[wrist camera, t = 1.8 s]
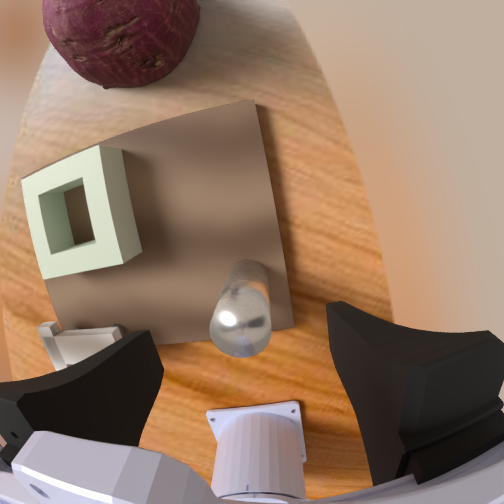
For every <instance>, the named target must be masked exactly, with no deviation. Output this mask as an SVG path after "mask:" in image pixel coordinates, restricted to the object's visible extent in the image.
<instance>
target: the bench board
mask: <svg viewBox="0 0 504 504" xmlns="http://www.w3.org/2000/svg"><path fill="white" fill-rule="evenodd" d="M97 145H104V146H109V147H114V148H120V149H122V156H123V162H124V168H125V173H126V179H127V184H128V189H129V194H130V199H131V204H132V209H133V213H134V218H135V222H136V227H137V231H138V235H139V239H140V243H141V248H142V251H143V252H141V253H139V254H138V255H136V256H135V257H133V258H131V259H130V260H128V261H127V262H125V263H124V264H119V265H114V266H109V267H104V268H99V269H94V270H89V271H84V272H79V273H74V274H69V275H64V276H59V277H54V278H49V279H44V281H45V284H46V287H47V291H48V293H49V296H50V299H51V302H52V305H53V308H54V310H55V313H56V316H57V318H58V321H59V324H60V326H61V329H62V331H60V329H59V327H58V324H57V322H56V321H55V322H43V323H42V324H41V325H39V326H38V327H37V330H38V332H39V335H40V337H41V339H42V342H43V344H44V346H45V348H46V351H47V353H48V355H49V357H50V359H51V361H52V363H53V365H54V367H55V369H56V371H59V370H61V369H64V368H66V367H69V366H71V365H74V364H76V363H78V362H80V361H82V360H84V359H86V358H88V357H90V356H91V355H93V354H95V353H97V352H99V351H101V350H102V349H104V348H106V347H107V346H109V345H111V344H112V343H114V342H116V341H118V340H119V339H121V338H123V337H125V336H127V335H129V334H131V333H133V332H136V331H142V330H150V333H151V336H152V339H153V341H154V344H155V345H164V344H175V343H185V342H195V341H204V340H212V339H211V337H210V332H209V327H210V322H211V319H212V317H213V314H214V311H215V308H216V305H217V302H218V299H219V297H220V294H221V291H222V288H223V285H224V283H225V280H226V277H227V274H228V271H229V269H230V268H231V266H232V265H233V264H234V263H236V262H238V261H240V260H243V259H251V260H255V261H257V262H259V263H260V264H261V265H262V266H263V267H264V268H265V270H266V272H267V275H268V285H269V300H270V315H271V331H276V330H282V329H288V328H293V327H295V324H294V317H293V311H292V304H291V298H290V291H289V285H288V279H287V273H286V267H285V261H284V255H283V249H282V243H281V237H280V231H279V225H278V220H277V214H276V208H275V203H274V197H273V192H272V187H271V181H270V176H269V171H268V165H267V160H266V155H265V150H264V145H263V140H262V135H261V130H260V125H259V120H258V115H257V111H256V106H255V101H254V99H253V100H248V101H242V102H237V103H232V104H227V105H222V106H218V107H213V108H209V109H205V110H201V111H197V112H193V113H189V114H185V115H181V116H178V117H174V118H170V119H167V120H164V121H160V122H157V123H154V124H150V125H147V126H144V127H141V128H138V129H135V130H132V131H129V132H126V133H123V134H120V135H118V136H115V137H112V138H110V139H107V140H104V141H102V142H99V143H97V144H94V145H92V146H89V147H87V148H84V149H82V150H79V151H77V152H75V153H72V154H70V155H68V156H66V157H63V158H61V159H59V160H57V161H55V162H53V163H51V164H48V165H46V166H44V167H42V168H40V169H38V170H36V171H34V172H32V173H30V174H29V175H27V176H25V177H23V178H22V180H23V179H24V178H26V177H28V176H30V175H32V174H34V173H36V172H38V171H40V170H42V169H44V168H46V167H48V166H50V165H53V164H55V163H57V162H59V161H61V160H63V159H66V158H68V157H70V156H73V155H75V154H77V153H80V152H82V151H84V150H87V149H89V148H92V147H94V146H97ZM64 198H65V203H66V208H67V213H68V218H69V222H70V227H71V231H72V235H73V239H74V243H75V245H77V244H81V243H84V242H88V241H92V240H95V236H94V232H93V228H92V223H91V219H90V214H89V210H88V205H87V200H86V194H85V189H84V184H83V185H81V186H78V187H75V188H73V189H70V190H67V191H65V192H64Z"/></svg>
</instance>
